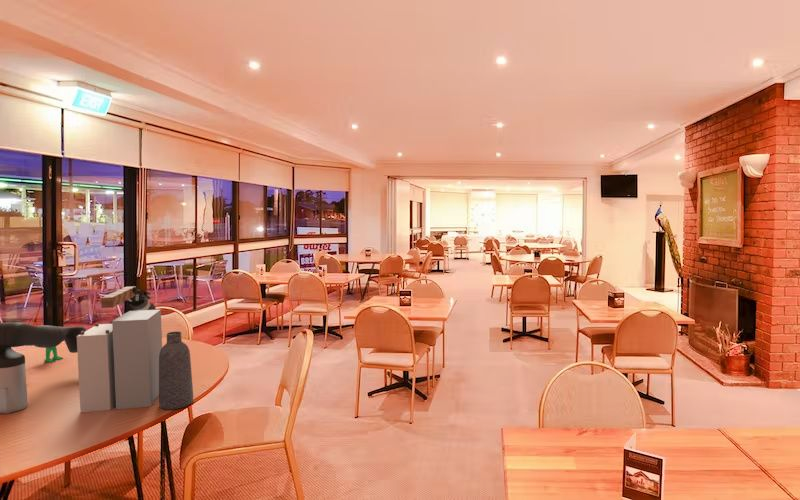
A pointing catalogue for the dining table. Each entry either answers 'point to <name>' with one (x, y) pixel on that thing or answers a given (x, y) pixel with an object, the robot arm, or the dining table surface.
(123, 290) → the batten
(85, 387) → the stand
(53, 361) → the toy
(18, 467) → the dining table surface
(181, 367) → the vase
